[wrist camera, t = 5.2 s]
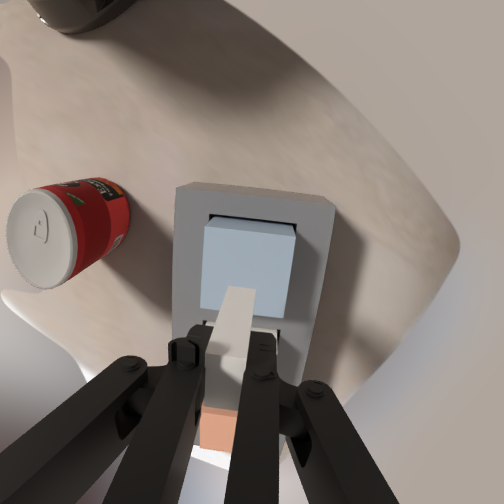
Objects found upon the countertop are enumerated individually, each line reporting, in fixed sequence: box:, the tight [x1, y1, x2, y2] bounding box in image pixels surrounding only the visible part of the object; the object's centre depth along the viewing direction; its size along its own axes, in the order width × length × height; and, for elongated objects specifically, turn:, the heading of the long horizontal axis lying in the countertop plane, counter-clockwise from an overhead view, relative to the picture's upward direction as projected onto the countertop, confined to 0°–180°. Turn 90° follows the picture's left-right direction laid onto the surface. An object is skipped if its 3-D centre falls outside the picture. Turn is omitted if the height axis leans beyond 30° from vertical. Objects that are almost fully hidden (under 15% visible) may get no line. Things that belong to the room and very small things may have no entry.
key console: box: [172, 182, 336, 455], centre depth 30 cm, size 28×12×6 cm, turn 174°
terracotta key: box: [200, 403, 238, 453], centre depth 31 cm, size 6×6×5 cm
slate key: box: [200, 214, 296, 318], centre depth 24 cm, size 6×6×5 cm
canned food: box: [6, 178, 130, 290], centre depth 25 cm, size 8×8×11 cm
